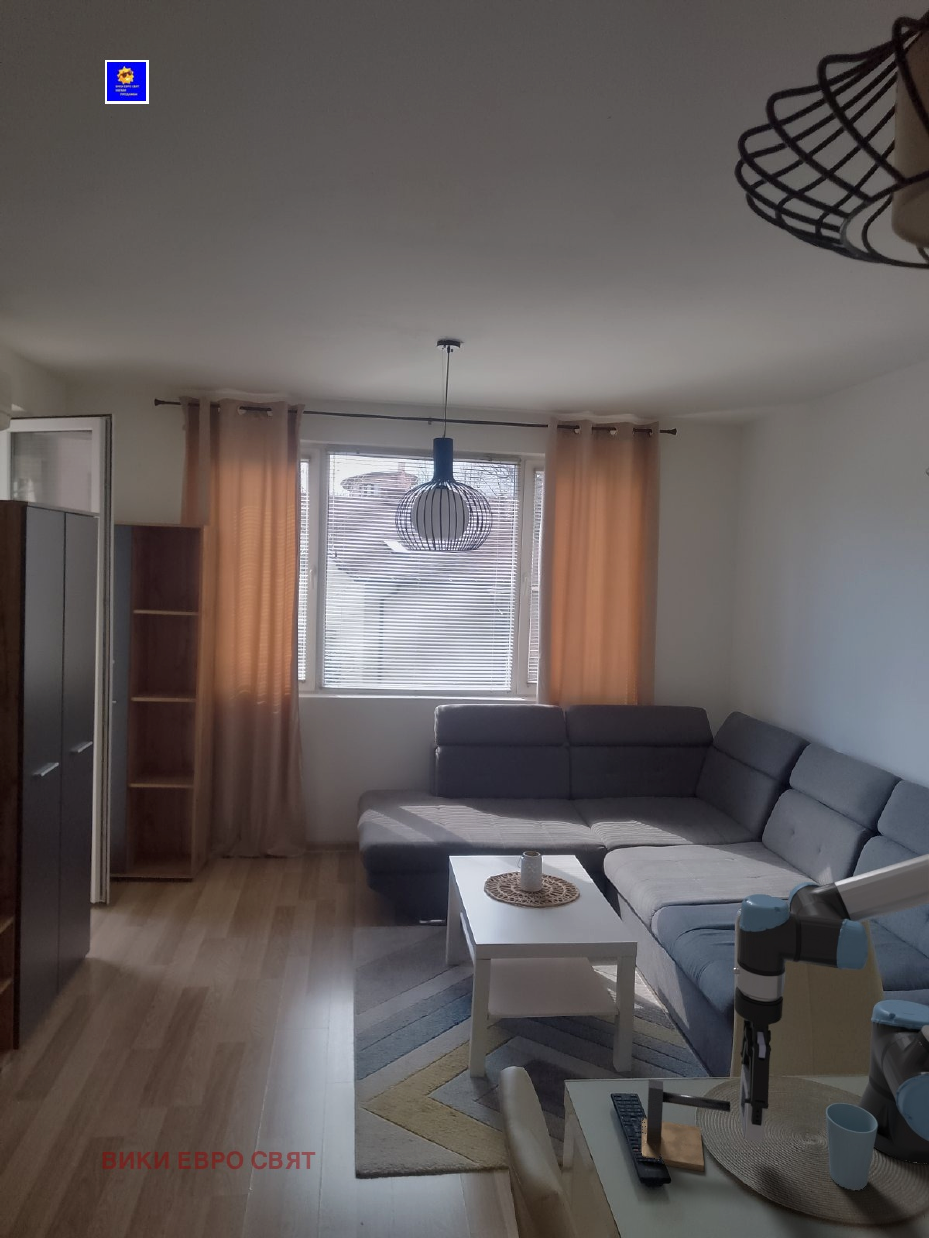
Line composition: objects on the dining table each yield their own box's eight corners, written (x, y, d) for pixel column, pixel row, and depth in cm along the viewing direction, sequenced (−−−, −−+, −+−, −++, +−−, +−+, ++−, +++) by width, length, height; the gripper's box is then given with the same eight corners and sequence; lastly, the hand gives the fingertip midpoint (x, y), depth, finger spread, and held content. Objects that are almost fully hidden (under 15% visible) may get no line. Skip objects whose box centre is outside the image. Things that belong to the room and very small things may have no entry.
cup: (885, 1188, 138) (888, 1125, 137) (850, 1201, 134) (853, 1137, 134) (847, 1158, 144) (849, 1098, 144) (812, 1170, 141) (815, 1109, 141)
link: (754, 1111, 147) (757, 1066, 146) (760, 1141, 139) (764, 1093, 139) (739, 1108, 147) (742, 1063, 147) (744, 1138, 140) (747, 1091, 139)
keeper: (724, 1136, 149) (727, 1077, 149) (730, 1175, 139) (733, 1113, 139) (641, 1123, 152) (643, 1066, 151) (641, 1160, 142) (643, 1099, 142)
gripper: (729, 960, 153) (722, 1082, 154) (742, 1019, 132) (733, 1160, 134) (773, 965, 151) (765, 1089, 153) (793, 1026, 131) (784, 1169, 132)
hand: (750, 1122), depth 143 cm, fingers closed on link, 8 cm apart
